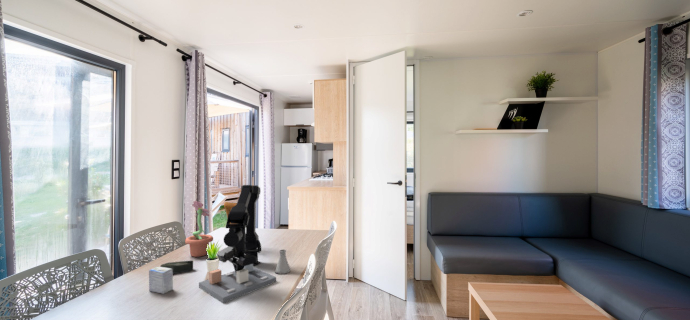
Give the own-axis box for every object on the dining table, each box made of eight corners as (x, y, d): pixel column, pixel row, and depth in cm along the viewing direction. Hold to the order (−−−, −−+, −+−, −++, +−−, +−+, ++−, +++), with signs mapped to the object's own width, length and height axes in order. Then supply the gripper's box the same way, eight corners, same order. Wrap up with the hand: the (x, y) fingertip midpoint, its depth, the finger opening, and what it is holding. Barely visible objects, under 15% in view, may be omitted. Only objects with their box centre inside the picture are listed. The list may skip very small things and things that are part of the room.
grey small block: (242, 271, 131) (242, 261, 131) (250, 269, 134) (250, 259, 134) (245, 273, 129) (245, 263, 129) (253, 270, 132) (253, 260, 132)
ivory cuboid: (236, 282, 120) (236, 271, 120) (245, 279, 123) (245, 268, 123) (239, 283, 118) (239, 272, 118) (248, 280, 121) (248, 269, 121)
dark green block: (193, 259, 140) (156, 263, 133) (193, 261, 137) (155, 265, 130) (192, 269, 140) (156, 274, 133) (193, 271, 137) (155, 276, 130)
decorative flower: (219, 253, 161) (219, 200, 161) (195, 261, 149) (195, 203, 149) (204, 249, 169) (204, 198, 169) (180, 256, 157) (179, 201, 157)
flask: (286, 275, 133) (286, 253, 132) (272, 273, 134) (272, 252, 134) (292, 269, 140) (292, 248, 140) (278, 268, 141) (278, 247, 141)
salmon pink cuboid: (209, 282, 119) (209, 271, 119) (218, 279, 122) (218, 268, 122) (211, 284, 118) (211, 273, 118) (221, 281, 121) (221, 270, 121)
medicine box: (173, 289, 118) (173, 268, 118) (163, 294, 114) (163, 272, 114) (159, 286, 120) (158, 265, 120) (148, 291, 116) (148, 269, 116)
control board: (198, 287, 120) (198, 281, 120) (250, 270, 138) (250, 264, 138) (222, 303, 107) (222, 296, 107) (276, 281, 125) (276, 275, 125)
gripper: (209, 239, 122) (209, 276, 122) (231, 248, 110) (231, 289, 110) (233, 234, 131) (233, 268, 131) (257, 242, 119) (257, 279, 119)
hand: (238, 276), depth 122 cm, fingers closed
